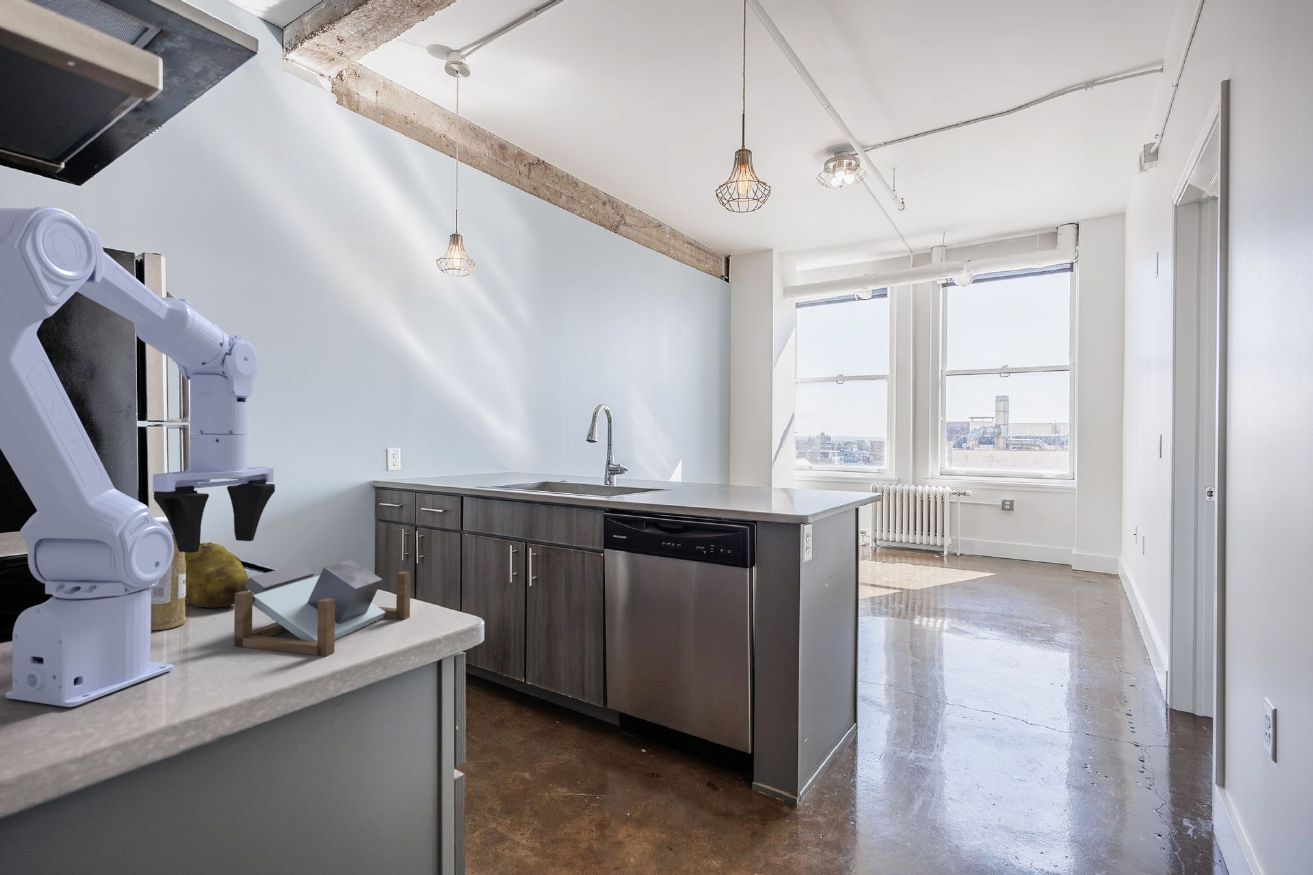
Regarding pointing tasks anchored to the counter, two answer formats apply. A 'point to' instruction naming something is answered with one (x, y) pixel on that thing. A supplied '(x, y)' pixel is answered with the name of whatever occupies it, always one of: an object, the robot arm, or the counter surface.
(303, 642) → the frame
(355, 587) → the iron block
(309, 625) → the trapdoor
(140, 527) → the robot arm
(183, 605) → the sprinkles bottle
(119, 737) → the counter surface
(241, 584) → the potato
